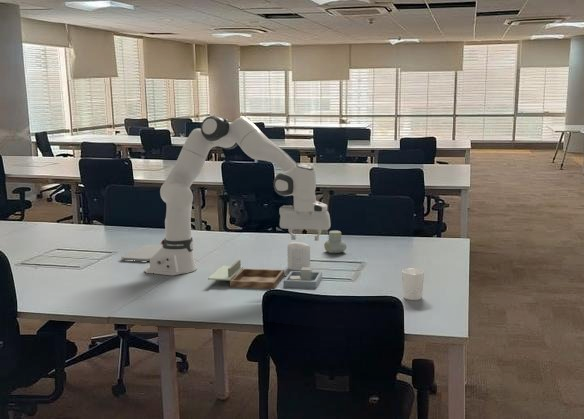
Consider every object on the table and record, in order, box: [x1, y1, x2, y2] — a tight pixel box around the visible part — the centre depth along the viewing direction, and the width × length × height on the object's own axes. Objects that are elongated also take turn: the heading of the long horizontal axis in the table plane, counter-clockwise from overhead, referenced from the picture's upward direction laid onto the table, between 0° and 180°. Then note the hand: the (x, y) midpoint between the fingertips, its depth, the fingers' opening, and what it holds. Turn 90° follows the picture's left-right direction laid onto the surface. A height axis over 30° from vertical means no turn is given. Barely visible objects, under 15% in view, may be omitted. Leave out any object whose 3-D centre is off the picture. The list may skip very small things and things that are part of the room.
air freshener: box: [323, 230, 347, 254], centre depth 305 cm, size 11×8×10 cm
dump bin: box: [282, 270, 323, 289], centre depth 257 cm, size 13×14×3 cm
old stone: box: [290, 276, 301, 281], centre depth 254 cm, size 4×4×3 cm
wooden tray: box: [229, 268, 286, 290], centre depth 259 cm, size 18×18×3 cm
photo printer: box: [287, 241, 311, 271], centre depth 275 cm, size 10×4×12 cm, turn 60°
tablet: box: [121, 244, 162, 261], centre depth 309 cm, size 16×26×2 cm, turn 164°
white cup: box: [401, 268, 425, 301], centre depth 235 cm, size 8×8×10 cm
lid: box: [207, 259, 244, 281], centre depth 262 cm, size 9×19×4 cm, turn 168°
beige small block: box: [301, 266, 313, 281], centre depth 258 cm, size 4×4×5 cm
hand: (305, 239), depth 255 cm, fingers open, 8 cm apart
